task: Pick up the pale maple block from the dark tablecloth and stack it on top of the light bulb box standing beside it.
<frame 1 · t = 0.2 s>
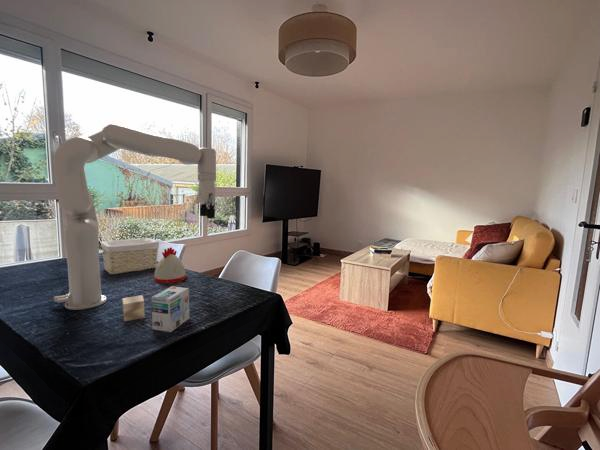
hand: (207, 217, 131), 31 cm above the table, tool pointing down, fingers open, 9 cm apart
storage basket: (131, 269, 157), on the table
light bulb box: (171, 324, 98), on the table
maple block: (133, 316, 102), on the table
kitchen timer: (170, 278, 144), on the table
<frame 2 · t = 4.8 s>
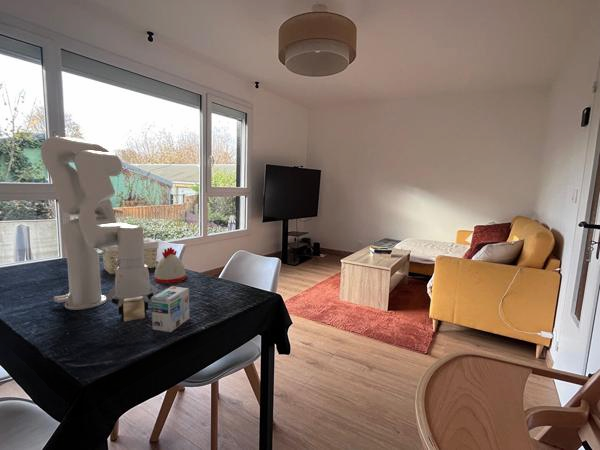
hand: (133, 313, 102), 1 cm above the table, tool pointing down, fingers closed on maple block, 6 cm apart
maple block: (133, 316, 102), on the table, touching gripper
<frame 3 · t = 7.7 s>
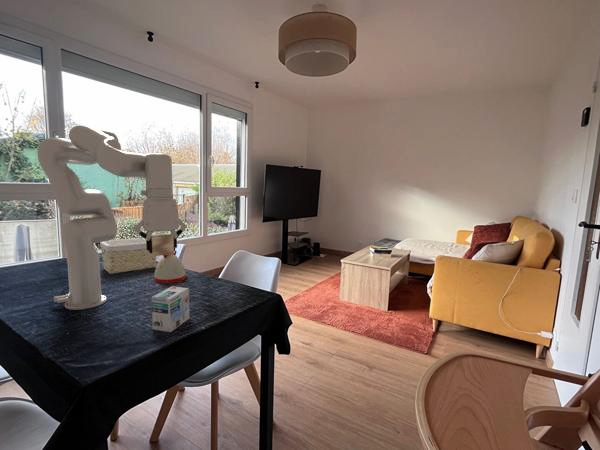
hand: (162, 250, 95), 24 cm above the table, tool pointing down, fingers closed on maple block, 6 cm apart
maple block: (162, 253, 95), point 23 cm above the table, touching gripper
when the fingers open (13 cm above the table, at t = 10.8 s): maple block drops 2 cm, resting on light bulb box.
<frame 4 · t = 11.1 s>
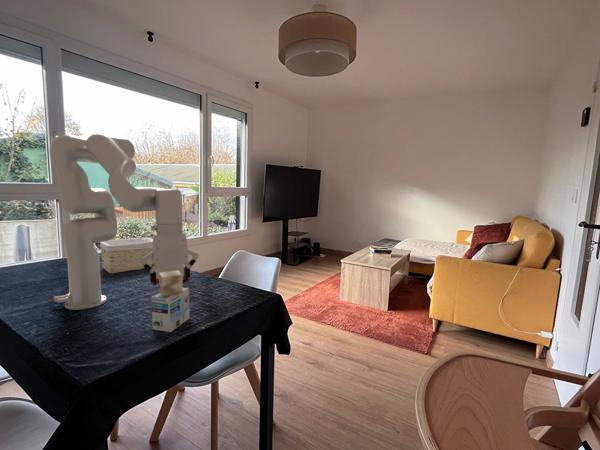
hand: (170, 281, 96), 14 cm above the table, tool pointing down, fingers open, 9 cm apart
light bulb box: (171, 324, 98), on the table, touching maple block
maple block: (171, 291, 96), point 11 cm above the table, touching light bulb box
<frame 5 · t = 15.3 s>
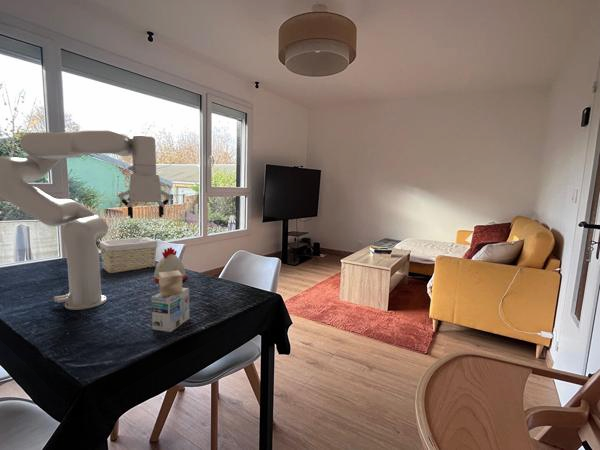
hand: (146, 217, 111), 32 cm above the table, tool pointing down, fingers open, 9 cm apart
at the end: maple block 0.1 cm off-centre on the light bulb box, point 11.0 cm above the light bulb box's base; maple block tilted 0°; the gripper is holding nothing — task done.
